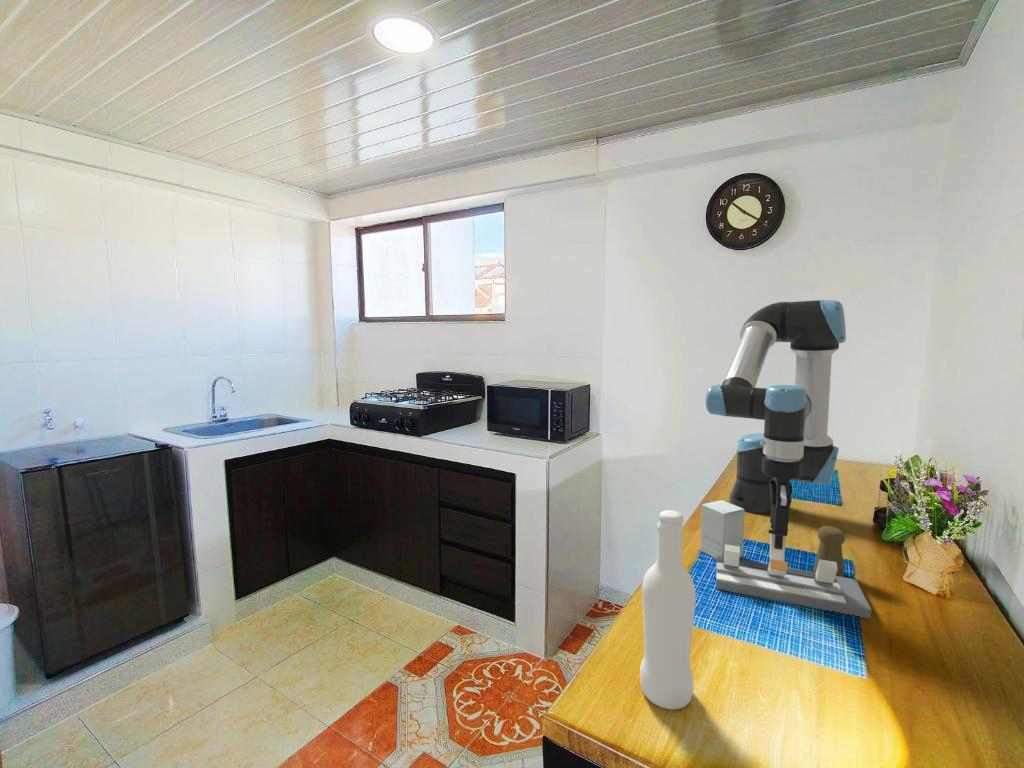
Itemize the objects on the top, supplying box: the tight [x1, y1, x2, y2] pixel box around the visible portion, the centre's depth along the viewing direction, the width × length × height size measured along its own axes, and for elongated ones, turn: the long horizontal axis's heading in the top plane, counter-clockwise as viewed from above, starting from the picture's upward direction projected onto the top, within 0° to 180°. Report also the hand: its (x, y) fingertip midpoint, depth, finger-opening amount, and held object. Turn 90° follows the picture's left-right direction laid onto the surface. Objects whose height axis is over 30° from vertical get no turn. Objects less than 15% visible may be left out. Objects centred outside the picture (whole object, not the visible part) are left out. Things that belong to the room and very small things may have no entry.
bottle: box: [639, 509, 697, 711], centre depth 73 cm, size 8×8×30 cm
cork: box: [812, 525, 846, 577], centre depth 108 cm, size 6×6×11 cm
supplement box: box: [700, 499, 745, 560], centre depth 118 cm, size 7×7×13 cm
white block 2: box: [814, 559, 838, 585], centre depth 98 cm, size 2×3×7 cm
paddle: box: [767, 558, 789, 577], centre depth 101 cm, size 2×3×7 cm
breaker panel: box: [715, 556, 872, 619], centre depth 103 cm, size 12×28×2 cm, turn 66°
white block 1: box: [723, 544, 740, 569], centre depth 106 cm, size 2×3×7 cm
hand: (776, 560), depth 103 cm, fingers closed
